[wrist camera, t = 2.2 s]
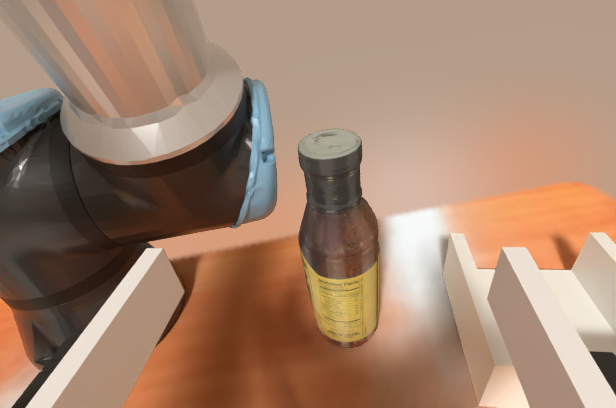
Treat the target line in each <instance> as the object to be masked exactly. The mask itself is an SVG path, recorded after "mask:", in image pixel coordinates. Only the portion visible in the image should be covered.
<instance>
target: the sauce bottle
mask: <svg viewBox="0 0 616 408" xmlns="http://www.w3.org/2000/svg"><path fill="white" fill-rule="evenodd" d="M298 154H299V163H300V167H301V168H302V170H303V171H304V176H305V182H306V188H307V204H306V208H305V212H304V216H303V220H302V223H301V227H300V231H299V246H300V251H301V256H302V261H303V266H304V271H305V276H306V281H307V286H308V290H309V295H310V300H311V305H312V310H313V314H314V319H315V322H316V324H317V327H318V329H319V330H320V332H321V333H322V335H323V336H324V337H325V338H326V339H327V340H328V341H329V342H330V343H332V344H333V345H337V346H341V347H358V346H361V345H362V344H364V343H365V342H367V341H368V340H369V339H370V338H371V337H372V335H373V334H374V332H375V331H376V329H377V326H378V318H379V299H380V277H379V267H380V249H379V242H378V223H377V219H376V216H375V214H374V212H373V211H372V209H371V207H370V206H369V204H368V202H367V201H366V200H365V199H364V198H362V197H361V196H362V188H361V186H360V163H361V160H362V141H361V138H360V137H359V136H357V134H355V133H354V132H352V131H349V130H344V129H327V130H322V131H319V132H316V133H313V134H310V135H308V136H307V137H305V138H303V139H302V140H301V141H300V143H299V145H298Z"/></svg>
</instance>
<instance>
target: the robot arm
mask: <svg viewBox="0 0 616 408" xmlns="http://www.w3.org/2000/svg"><path fill="white" fill-rule="evenodd" d="M0 19H1V20H2V22H3V23H4V24H5V25H6V26H7V27H8V29H9V30H10V31H11V32H12V33H13V34H14V36H15V37H16V38H17V39H18V40H19V42H20V43H21V44H22V45H23V46H24V47H25V48H26V50H27V51H28V52H29V53H30V54H31V56H32V57H33V58H34V59H35V60H36V61H37V63H38V64H39V65H40V66H41V67H42V68H43V69H44V71H45V72H46V73H47V74H48V75H49V77H50V78H51V79H52V80H53V81H54V83H55V84H56V85H57V86H58V87H59V88H60V89H61V91H62V92H63V93H64V94H65V97H63V96H62V95H61V94H60V92H59V91H57V90H56V89H53V88H47V89H37V90H32V91H28V92H25V93H21V94H18V95H15V96H11V97H8V98H5V99H3V100H0V298H1V299H2V300H3V301H4V302H5V303H6V304H8V305H9V307H10V308H11V309H12V311H13V314H14V318H15V321H16V324H17V327H18V330H19V333H20V336H21V339H22V342H23V345H24V349H25V352H26V354H27V356H28V358H29V360H30V361H31V362H32V364H33V365H34V366H35V367H37V368H38V369H39V370H40V371H41V372H39V374H38V375H37V376H36V377H35V379H34V380H33V381H32V382H31V384H30V385H29V386H28V387H27V389H26V390H25V391H24V392H23V394H22V395H21V396H20V398H19V399H18V400H17V401H16V403H15V404H14V405H13V406H12V408H122V407H123V405H124V404H125V402H126V400H127V398H128V396H129V394H130V392H131V391H132V389H133V387H134V385H135V383H136V381H137V379H138V378H139V376H140V374H141V372H142V370H143V368H144V366H145V365H146V363H147V361H148V359H149V357H150V355H151V354H152V352H153V350H154V348H155V346H156V345H157V344H158V343H159V342H160V341H161V339H162V338H163V337H164V336H165V335H166V334H167V333H168V331H169V330H170V329H171V327H172V326H173V324H174V323H175V321H176V319H177V317H178V315H179V313H180V311H181V308H182V306H183V302H184V296H185V289H184V284H183V281H182V279H181V277H180V275H179V273H178V271H177V269H176V267H175V266H174V264H173V263H172V262H171V261H170V260H169V259H168V257H167V255H166V253H165V251H164V249H163V248H154V247H153V246H151V245H150V244H149V243H148V242H149V241H155V240H160V239H165V238H171V237H176V236H181V235H187V234H192V233H197V232H203V231H208V230H214V229H220V228H226V227H231V228H236V227H239V226H240V225H241V224H244V223H248V222H253V221H257V220H260V219H264V218H266V217H267V216H269V215H270V214H271V213H272V211H273V210H274V208H275V206H276V201H277V171H276V161H275V156H274V136H273V126H272V119H271V112H270V105H269V100H268V95H267V91H266V88H265V86H264V84H263V83H262V82H261V81H259V80H252V79H249V78H244V79H243V77H242V73H241V70H240V68H239V66H238V64H237V62H236V61H235V59H234V58H233V57H232V56H231V55H230V54H229V53H228V52H227V51H226V50H224V49H223V48H221V47H220V46H218V45H216V44H214V43H211V42H209V41H207V39H206V36H205V33H204V30H203V27H202V24H201V21H200V18H199V15H198V12H197V9H196V6H195V3H194V0H0ZM487 300H488V302H489V305H490V307H491V310H492V313H493V315H494V318H495V320H496V323H497V325H498V328H499V330H500V333H501V335H502V338H503V340H504V343H505V346H506V348H507V351H508V353H509V356H510V358H511V361H512V363H513V366H514V368H515V371H516V374H517V376H518V379H519V381H520V384H521V386H522V389H523V391H524V394H525V396H526V399H527V402H528V404H529V407H530V408H616V355H615V354H614V353H613V352H596V351H588V349H587V348H586V346H585V344H584V343H583V341H582V339H581V338H580V336H579V334H578V333H577V331H576V329H575V328H574V326H573V324H572V323H571V321H570V319H569V318H568V316H567V314H566V313H565V311H564V310H563V308H562V306H561V305H560V303H559V301H558V300H557V298H556V296H555V295H554V293H553V291H552V290H551V288H550V286H549V285H548V283H547V281H546V280H545V278H544V277H543V275H542V273H541V272H540V270H539V268H538V267H537V265H536V263H535V262H534V260H533V258H532V257H531V255H530V253H529V252H528V250H527V248H526V247H502V249H501V253H500V256H499V259H498V263H497V266H496V269H495V273H494V276H493V280H492V283H491V286H490V290H489V293H488V297H487Z"/></svg>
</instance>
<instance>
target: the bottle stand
mask: <svg viewBox="0 0 616 408" xmlns="http://www.w3.org/2000/svg"><path fill="white" fill-rule="evenodd" d="M540 272H541V273H542V275H543V277H544V278H545V280H546V281H547V283H548V285H549V286H550V288H551V290H552V291H553V293H554V295H555V296H556V298H557V300H558V301H559V303H560V305H561V306H562V308H563V310H564V311H565V313H566V314H567V316H568V318H569V319H570V321H571V323H572V324H573V326H574V328H575V329H576V331H577V333H578V334H579V336H580V338H581V339H582V341H583V343H584V344H585V346H586V348H587V349H588V351H596V352H613V353H614V354H615V355H616V244H615V243H614V242H613V241H612V240H611V239H610V238H609V237H608V235H607V234H606V233H590V234H589V236H588V238H587V240H586V242H585V244H584V246H583V248H582V249H581V251H580V253H579V255H578V257H577V259H576V261H575V263H574V265H573V267H572V269H571V270H540ZM494 273H495V269H477V268H476V265H475V263H474V260H473V257H472V255H471V252H470V250H469V247H468V244H467V242H466V239H465V237H464V234H463V233H450V237H449V243H448V248H447V254H446V259H445V265H444V270H443V278H444V282H445V285H446V289H447V293H448V297H449V300H450V304H451V308H452V311H453V315H454V319H455V322H456V326H457V330H458V333H459V337H460V341H461V345H462V348H463V352H464V356H465V359H466V363H467V367H468V370H469V374H470V378H471V381H472V385H473V389H474V392H475V396H476V400H477V404H478V406H484V407H497V408H530V407H529V404H528V402H527V399H526V396H525V394H524V391H523V389H522V386H521V384H520V381H519V379H518V376H517V374H516V371H515V368H514V366H513V363H512V361H511V358H510V356H509V353H508V351H507V348H506V346H505V343H504V340H503V338H502V335H501V333H500V330H499V328H498V325H497V323H496V320H495V318H494V315H493V313H492V310H491V307H490V305H489V302H488V300H487V297H488V293H489V290H490V286H491V283H492V280H493V276H494Z"/></svg>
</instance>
